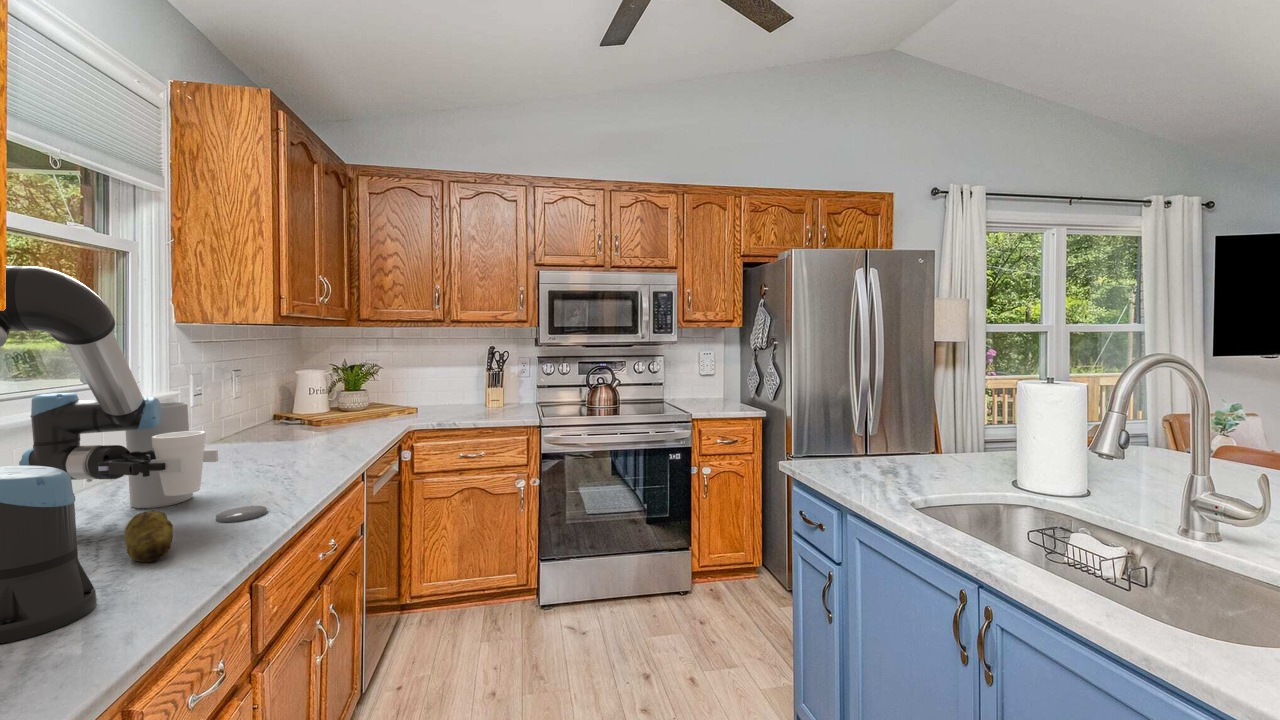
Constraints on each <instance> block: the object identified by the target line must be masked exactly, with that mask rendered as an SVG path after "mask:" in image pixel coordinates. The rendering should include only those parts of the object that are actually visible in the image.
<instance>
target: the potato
mask: <svg viewBox="0 0 1280 720" xmlns="http://www.w3.org/2000/svg"><path fill="white" fill-rule="evenodd" d="M172 523H173V522H171V521H170V520H169V519H168V516H167V514H165V512H161V511H159V510H158V511H157V510H149V511H144V512H140V513H138V514H136V515H134V516H133V517H131V519H130V520H129V522H128V523H127V525H126V526H125V528H124V544H125V547H126V552H127V554H128V556H129V557H130V558H131V559H132V560H133V561H136V562H139V563H148V562H150V563H151V562H156V561H158V560H161V559H163V558H164V557H165V556H167V554H168V553H169V552H170V550H171V546H172V542H173V538H174V537H173V536H174V535H173V529H174V528H173V524H172Z"/></svg>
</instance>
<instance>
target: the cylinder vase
mask: <svg viewBox="0 0 1280 720" xmlns="http://www.w3.org/2000/svg"><path fill="white" fill-rule="evenodd" d="M160 405H161V420H160V423H159V425H158V426H157V427H155V428H149V429H141V430H129V431H125V442H126V448H127V449H128V451H129V452H136V451H140V452H148V451H150V450H152V451H154V448H152V437H153V436H155V435H160V434H166V433H173V432H184V431H190V427H189V425H190V424H189V410H188V409H189V408H188V402H183V401H182V402H181V401H179V402H177V401H174V402H172V401H171V402H160ZM149 463H151V462H149ZM127 476H128V477H127V478H128V489H129V490H128V491H129V503H130V504H129V505H130V506H131V507H132V508H135V509H140V508H143V509H144V508H147V509H157V508H164V507H169V506H173V505H174V506H175V505H178V504H181V502H182V503H185V502H187V501H189V500H190V499H192V497H193V495H194V493H190V494H185V495H178V496H165V495H164V492H163V487H162V483H161V478H160V474H159V473H151V471H150V476H147V477H143V473H139V475H136V476H134V475H127Z"/></svg>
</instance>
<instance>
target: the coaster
mask: <svg viewBox="0 0 1280 720" xmlns="http://www.w3.org/2000/svg"><path fill="white" fill-rule="evenodd" d="M267 509H268V508H267V507H266V506H263V505H249V506H248V505H247V506H240V507H239V506H238V507H235V508H229V509H226V510H223V511H221V512H219V513H217V514H216V516H215V521H217V522H219V523H237V522H236V521H239V522H243V521H242V520H245V521H249V520H248V519H250V520H253V518H254V519H256V517H257V518H260V517H262V516H264V515H266V514H267V513H268V510H267ZM259 516H260V517H259Z"/></svg>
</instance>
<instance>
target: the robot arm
mask: <svg viewBox="0 0 1280 720" xmlns="http://www.w3.org/2000/svg"><path fill="white" fill-rule="evenodd" d="M5 266H6V309H5V310H4V311H0V348H1V347H3V346H5V344H6V342H7V340H8V337H9V334H10V332H28V331H29V332H30V331H31V332H33V331H42V332H48V333H49V334H50V335H51V337H52V339H54V340H55V341H56V342H58V343H60V344H63V345H65V347H66V349H67V351H68V352H69V354H70V356H71V358H72V360H73V361H74V363H75V365H76V366H77V368H78V370H79V372H80V374H81V375H82V377H83V378H84V381H85V382H86V385H88V388H89V390H90V391H91V393H92V394H93V396H94V398H95V399H88V400H87V399H85V400H84V399H81V400H80V399H79V396H78V394H77V393H76V392H53V393H41V394H37V395H35V396H33V397H32V398H31V405H30V406H31V409H30V411H31V414H30V418H31V419H30V421H31V432H32V439H33V440H32V441H33V444H32V447H31V448H28V450H26V451H24V452H23V454H22V456H21V459H20V460H19V461H18V465H5V466H4V465H3V466H0V643H2V644H6V642H7V643H12V642H16V641H19V640H23V639H27V638H32V637H35V636H39V635H43V634H45V633H48V632H50V631H54V630H57V629H60V628H62V627H64V626H66V625H67V626H68V625H69V624H71V623H73V622H76V621H77V620H79V619H81V618H83V617H85V616H86V615H88V614H89V613H91V612H92V611H93V610H94V609H95V608H96V606H97V592H96V589H95V586H94V585H93V583H92V581H91V580H90V579H89V577H88V575H87V573H86V571H85V569H84V567H82V566H83V565H82V564H81V563H80V562H81V561H79V554H78V552H79V551H78V539H77V538H78V536H77V526H76V525H77V523H76V509H75V507H76V506H75V502H76V495H75V493H74V489H73V481H75V480H77V481H79V480H81V481H82V480H86V482H87V483H92V482H93V480H117V479H120V478H122V477H124V476H128V475H134V476H136V475H139V473H143V477H147V476H150V471H151V473H162V472H183V471H184V462H183V459H156V456H155V452H154V451H152V450H150V451H148V452H140V451H136V452H129V451H128V449H127V447H125V446H124V445H120V444H119V445H118V444H116V445H100V444H99V445H97V444H95V445H81V435H84V434H95V433H96V434H97V433H110V432H126V431H129V430H141V429H149V428H155V427H157V426H158V425H159V423H160V420H161V405H160V403H161V401H160V400H159V399H158V398H157V397H155V396H143V394H142V393H141V389H140V388H139V385H138V383H137V382H136V379H135V377H134V375H133V373H132V371H131V368H130V366H129V364H128V362H127V360H126V357H125V355H124V352H123V350H122V348H121V346H120V344H119V343H118V340H117V337H116V336H115V333H114V330H115V329H116V328H115V327H116V320H115V318H114V315H113V313H112V311H111V309H110V308H109V306H108V305H107V303H106V302H104V300H103V299H102V298H101V297H100V296H99V295H97V293H96V292H95V291H93V290H92V289H90V288H89V287H88V286H86V285H85V284H84V283H82V282H80V280H77V279H75V278H73V277H71V276H69V275H68V274H65V273H62V272H60V271H58V270H55V269H51V268H47V267H42V266H41V267H40V266H35V265H34V266H32V265H30V266H29V265H27V266H26V265H24V266H17V265H5ZM149 462H151V463H149ZM217 462H219V453H218V449H204V456H203V463H217ZM72 480H73V481H72Z"/></svg>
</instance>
